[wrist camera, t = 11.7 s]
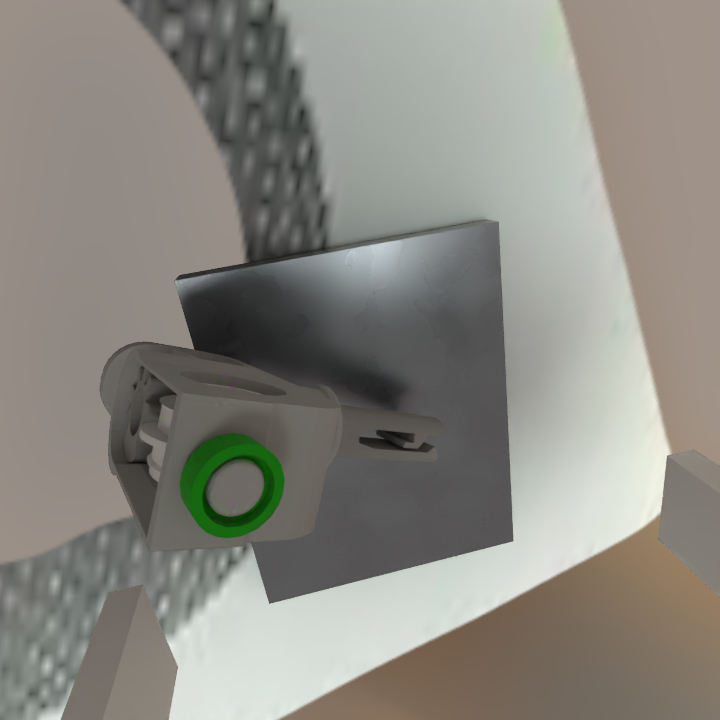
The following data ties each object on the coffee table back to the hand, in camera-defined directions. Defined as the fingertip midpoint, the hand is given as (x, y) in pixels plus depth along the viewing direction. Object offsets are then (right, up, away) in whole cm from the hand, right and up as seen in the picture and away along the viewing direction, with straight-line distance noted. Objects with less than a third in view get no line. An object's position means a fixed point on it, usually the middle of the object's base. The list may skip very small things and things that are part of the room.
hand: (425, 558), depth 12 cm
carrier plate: (-1, +2, +8) cm, 8 cm away
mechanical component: (+1, +2, +5) cm, 6 cm away
